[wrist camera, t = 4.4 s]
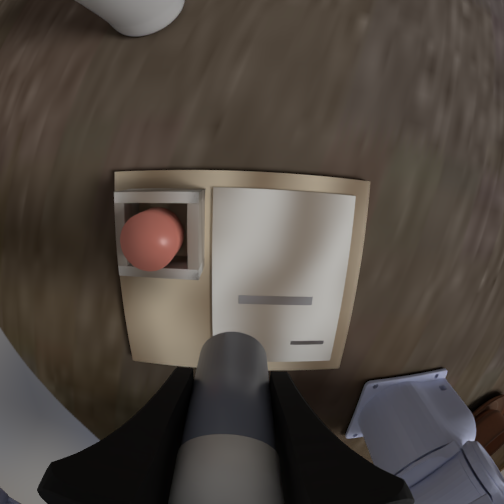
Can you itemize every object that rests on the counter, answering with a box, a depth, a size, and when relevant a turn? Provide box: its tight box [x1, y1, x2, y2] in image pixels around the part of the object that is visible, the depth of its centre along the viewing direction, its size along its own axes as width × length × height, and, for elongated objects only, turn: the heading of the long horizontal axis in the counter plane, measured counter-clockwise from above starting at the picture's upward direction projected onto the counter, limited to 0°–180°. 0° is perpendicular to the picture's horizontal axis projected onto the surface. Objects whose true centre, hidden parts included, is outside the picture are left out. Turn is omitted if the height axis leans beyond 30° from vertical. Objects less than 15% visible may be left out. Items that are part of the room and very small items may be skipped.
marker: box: [168, 332, 284, 504], centre depth 9 cm, size 3×3×8 cm
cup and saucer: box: [472, 395, 504, 456], centre depth 24 cm, size 12×12×6 cm
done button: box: [120, 207, 184, 271], centre depth 15 cm, size 3×3×2 cm
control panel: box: [114, 170, 370, 370], centre depth 18 cm, size 16×14×3 cm
